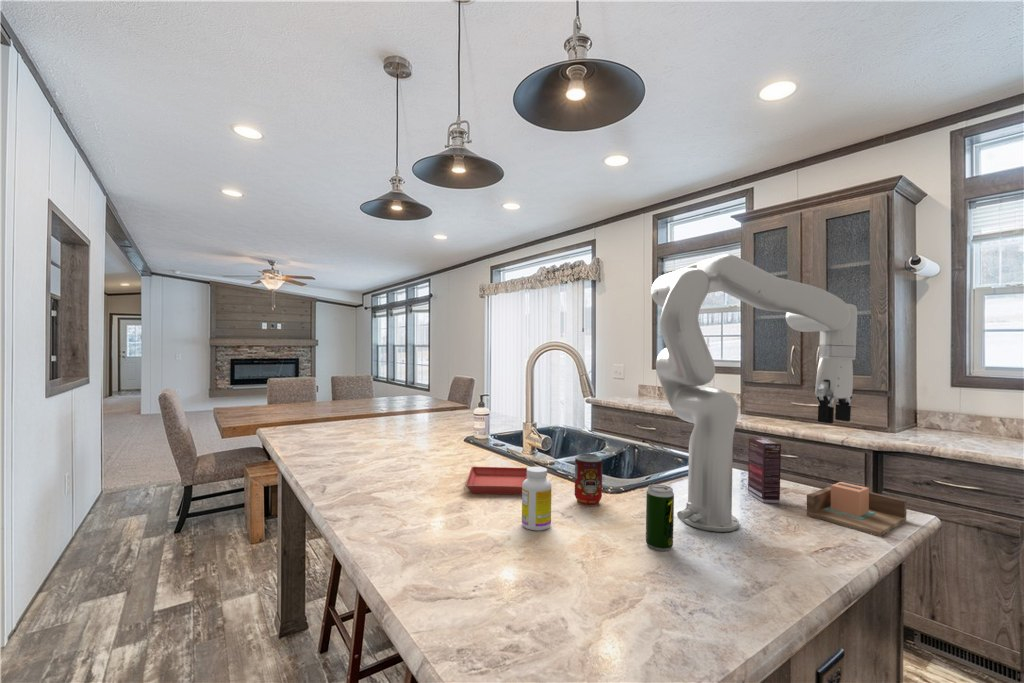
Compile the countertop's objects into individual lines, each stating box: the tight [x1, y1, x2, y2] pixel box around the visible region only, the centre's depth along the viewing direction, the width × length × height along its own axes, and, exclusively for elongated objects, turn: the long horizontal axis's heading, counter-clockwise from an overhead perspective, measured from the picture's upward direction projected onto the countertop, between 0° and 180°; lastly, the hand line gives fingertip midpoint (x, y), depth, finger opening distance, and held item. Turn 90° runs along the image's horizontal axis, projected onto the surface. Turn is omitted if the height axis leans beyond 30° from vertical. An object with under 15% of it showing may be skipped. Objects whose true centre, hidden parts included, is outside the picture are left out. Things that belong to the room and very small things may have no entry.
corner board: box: [805, 485, 908, 537], centre depth 113 cm, size 17×15×5 cm
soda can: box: [574, 452, 603, 507], centre depth 121 cm, size 7×7×12 cm
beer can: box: [645, 483, 675, 552], centre depth 95 cm, size 5×5×12 cm
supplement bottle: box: [521, 466, 552, 532], centre depth 105 cm, size 7×7×13 cm
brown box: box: [830, 481, 870, 517], centre depth 115 cm, size 6×6×6 cm
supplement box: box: [747, 436, 782, 504], centre depth 127 cm, size 9×5×16 cm, turn 179°
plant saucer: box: [465, 466, 528, 495], centre depth 134 cm, size 18×18×3 cm
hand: (834, 421), depth 115 cm, fingers open, 9 cm apart
